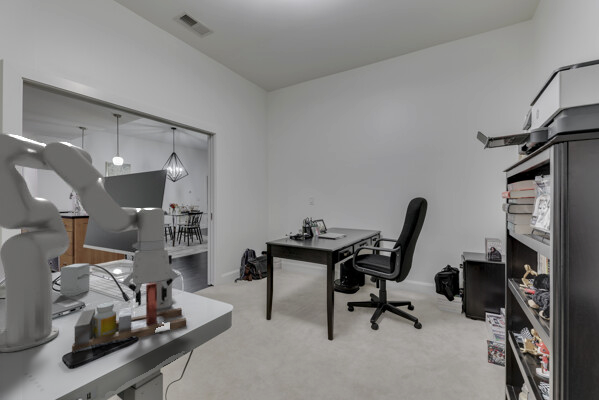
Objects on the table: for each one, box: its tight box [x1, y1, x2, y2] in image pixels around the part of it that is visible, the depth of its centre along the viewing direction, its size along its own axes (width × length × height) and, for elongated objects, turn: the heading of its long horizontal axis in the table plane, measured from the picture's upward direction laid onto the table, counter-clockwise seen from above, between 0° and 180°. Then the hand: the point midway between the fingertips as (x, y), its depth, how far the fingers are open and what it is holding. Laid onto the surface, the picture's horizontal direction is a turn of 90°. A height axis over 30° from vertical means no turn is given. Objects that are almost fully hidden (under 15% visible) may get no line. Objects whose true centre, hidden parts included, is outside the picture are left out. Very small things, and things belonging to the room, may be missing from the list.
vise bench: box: [71, 307, 187, 353], centre depth 81 cm, size 28×12×7 cm, turn 122°
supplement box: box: [59, 263, 91, 297], centre depth 117 cm, size 7×7×13 cm
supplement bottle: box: [93, 301, 117, 338], centre depth 77 cm, size 5×5×10 cm
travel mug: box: [153, 254, 173, 312], centre depth 98 cm, size 6×7×20 cm
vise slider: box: [118, 283, 165, 333], centre depth 82 cm, size 12×7×13 cm, turn 122°
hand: (151, 301), depth 83 cm, fingers open, 6 cm apart
